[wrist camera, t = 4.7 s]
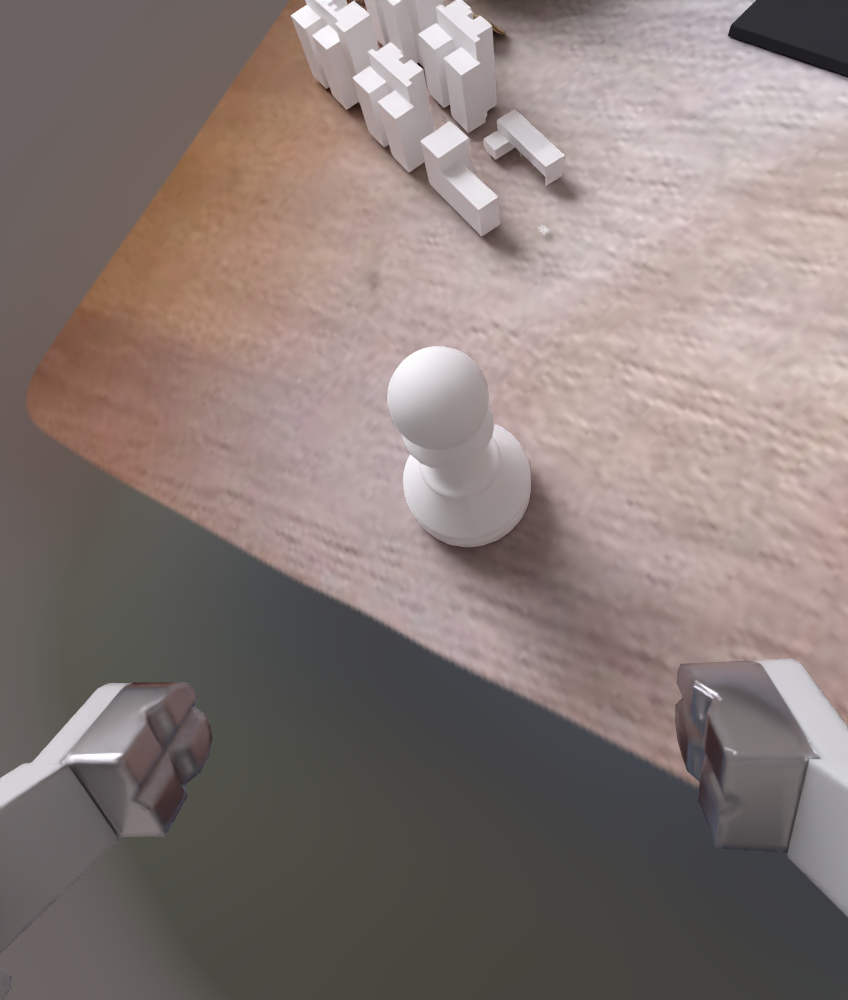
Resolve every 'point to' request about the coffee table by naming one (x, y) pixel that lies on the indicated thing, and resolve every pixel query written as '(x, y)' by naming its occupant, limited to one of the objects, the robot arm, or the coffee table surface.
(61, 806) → the robot arm
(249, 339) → the coffee table surface
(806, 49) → the mat
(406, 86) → the modular blocks
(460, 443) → the chess pawn
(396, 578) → the coffee table surface
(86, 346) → the coffee table surface
